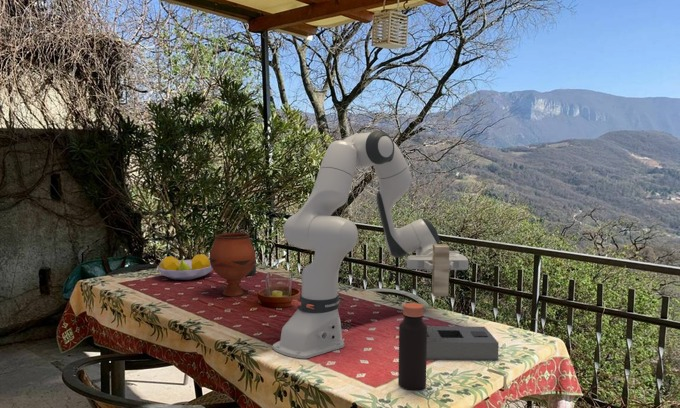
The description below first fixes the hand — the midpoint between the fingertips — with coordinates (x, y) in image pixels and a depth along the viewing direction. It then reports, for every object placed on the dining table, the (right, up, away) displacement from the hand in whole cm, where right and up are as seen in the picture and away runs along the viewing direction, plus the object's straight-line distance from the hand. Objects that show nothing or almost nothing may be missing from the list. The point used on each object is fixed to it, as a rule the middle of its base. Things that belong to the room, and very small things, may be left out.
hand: (441, 267), depth 161 cm
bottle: (-15, -25, -36) cm, 46 cm away
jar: (-79, -15, +85) cm, 117 cm away
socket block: (0, -23, -13) cm, 26 cm away
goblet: (-77, -17, +50) cm, 94 cm away
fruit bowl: (-106, -15, +79) cm, 134 cm away
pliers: (-34, -18, +48) cm, 62 cm away
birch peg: (0, -9, +2) cm, 9 cm away
